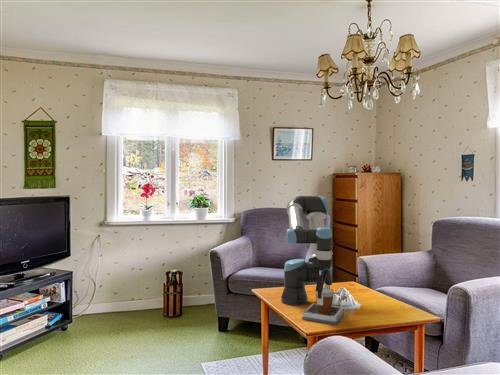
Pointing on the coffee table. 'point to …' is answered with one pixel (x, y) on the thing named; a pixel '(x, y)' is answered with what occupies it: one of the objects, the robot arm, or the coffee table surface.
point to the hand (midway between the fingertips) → (323, 301)
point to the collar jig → (313, 315)
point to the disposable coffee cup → (326, 301)
